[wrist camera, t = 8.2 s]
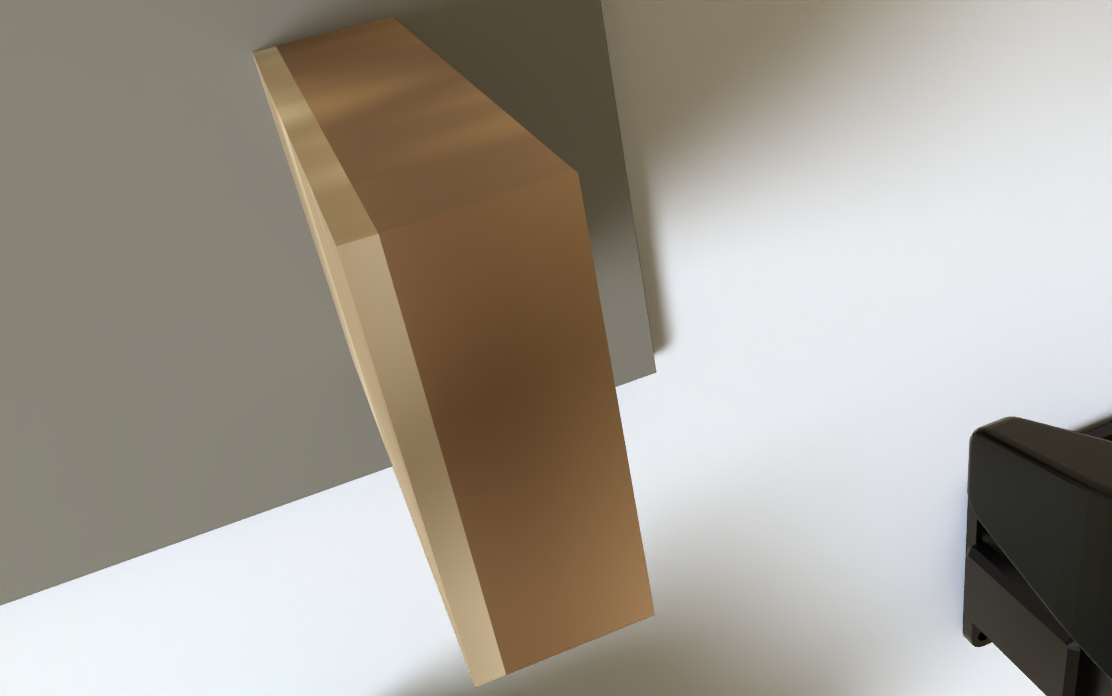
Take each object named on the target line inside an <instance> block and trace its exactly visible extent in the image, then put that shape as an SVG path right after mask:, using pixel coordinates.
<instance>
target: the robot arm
mask: <svg viewBox="0 0 1112 696" xmlns="http://www.w3.org/2000/svg"><path fill="white" fill-rule="evenodd" d="M967 492H968V509H967V534H966V559H965V584H964V610H963V636H964V637H965V638H966V639H967V640H968V641H969V642H970V643H971V644H972V645H974V646H975V647H981V646H985V645H987V644H989V643H991V642H993V643H994V644H995V645H996V646H997V647H998V648H999V649H1000V650H1001V651H1002V652H1003V653H1004V654H1005V655H1006V656H1007V657H1008V658H1009V659H1010V660H1011V661H1012V662H1013V663H1014V664H1015V665H1016V666H1017V667H1018V668H1019V669H1020V670H1021V671H1022V672H1023V673H1024V674H1025V675H1026V676H1027V677H1028V678H1029V679H1030V680H1031V681H1032V682H1033V683H1034V684H1035V685H1036V686H1037V687H1038V688H1039V689H1040V690H1041V691H1042V692H1043V693H1044V694H1045V695H1046V696H1112V422H1111V423H1109V424H1107V425H1104V426H1102V427H1099V428H1097V429H1094V430H1092V431H1089V432H1087V433H1084V434H1082V433H1078V432H1074V431H1070V430H1066V429H1062V428H1058V427H1054V426H1050V425H1046V424H1042V423H1039V422H1035V421H1031V420H1027V419H1023V418H1018V417H1005V418H1002V419H999V420H997V421H994V422H992V423H989V424H987V425H984V426H982V427H979V428H977V429H976V430H975V431H974V432H973V434H972V436H971V438H970V442H969V463H968V488H967Z"/></svg>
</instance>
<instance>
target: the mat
mask: <svg viewBox="0 0 1112 696" xmlns="http://www.w3.org/2000/svg"><path fill="white" fill-rule="evenodd" d="M391 16H392V17H393V18H394V19H395V20H397V21H398V22H399V23H400V24H401V25H403V26H404V27H405V28H406V29H407V30H409V31H410V32H411V33H412V34H413V35H414V36H416V37H417V38H418V39H419V40H420V41H422V42H423V43H424V44H425V45H426V46H428V47H429V48H430V49H431V50H432V51H433V52H435V53H436V54H437V55H438V56H439V57H441V58H442V59H443V60H444V61H445V62H447V63H448V64H449V65H450V66H451V67H452V68H454V69H455V70H456V71H457V72H458V73H460V74H461V75H462V76H463V77H464V78H466V79H467V80H468V81H469V82H470V83H472V84H473V85H474V86H475V87H476V88H477V89H479V90H480V91H481V92H482V93H483V94H485V95H486V96H487V97H488V98H489V99H491V100H492V101H493V102H494V103H495V104H496V105H498V106H499V107H500V108H501V109H502V110H504V111H505V112H506V113H507V114H508V115H510V116H511V117H512V118H513V119H514V120H515V121H517V122H518V123H519V124H520V125H521V126H523V127H524V128H525V129H526V130H527V131H529V132H530V133H531V134H532V135H533V136H534V137H536V138H537V139H538V140H539V141H540V142H542V143H543V144H544V145H545V146H546V147H548V148H549V149H550V150H551V151H552V152H553V153H555V154H556V155H557V156H558V157H559V158H561V159H562V160H563V161H564V162H565V163H567V164H568V165H569V166H570V167H571V168H572V169H574V170H575V171H576V172H577V173H578V174H579V180H580V186H581V192H582V198H583V203H584V209H585V215H586V221H587V226H588V232H589V238H590V244H591V250H592V255H593V261H594V267H595V273H596V279H597V284H598V290H599V296H600V302H601V308H602V313H603V319H604V325H605V331H606V336H607V342H608V348H609V354H610V360H611V365H612V371H613V377H614V383H615V387H617V386H619V385H622V384H625V383H628V382H631V381H633V380H636V379H639V378H642V377H645V376H648V375H650V374H653V373H656V367H655V360H654V353H653V347H652V340H651V334H650V327H649V320H648V314H647V307H646V301H645V294H644V287H643V281H642V274H641V268H640V261H639V254H638V248H637V241H636V235H635V228H634V221H633V215H632V208H631V201H630V195H629V188H628V182H627V175H626V168H625V162H624V155H623V149H622V142H621V135H620V129H619V122H618V116H617V109H616V102H615V96H614V89H613V83H612V76H611V69H610V63H609V56H608V50H607V43H606V36H605V30H604V23H603V16H602V10H601V3H600V0H0V605H3V604H6V603H9V602H12V601H14V600H17V599H20V598H23V597H26V596H29V595H31V594H34V593H37V592H40V591H43V590H45V589H48V588H51V587H54V586H57V585H59V584H62V583H65V582H68V581H71V580H74V579H76V578H79V577H82V576H85V575H88V574H90V573H93V572H96V571H99V570H102V569H104V568H107V567H110V566H113V565H116V564H119V563H121V562H124V561H127V560H130V559H133V558H135V557H138V556H141V555H144V554H147V553H149V552H152V551H155V550H158V549H161V548H164V547H166V546H169V545H172V544H175V543H178V542H180V541H183V540H186V539H189V538H192V537H195V536H197V535H200V534H203V533H206V532H209V531H211V530H214V529H217V528H220V527H223V526H225V525H228V524H231V523H234V522H237V521H240V520H242V519H245V518H248V517H251V516H254V515H256V514H259V513H262V512H265V511H268V510H270V509H273V508H276V507H279V506H282V505H285V504H287V503H290V502H293V501H296V500H299V499H301V498H304V497H307V496H310V495H313V494H316V493H318V492H321V491H324V490H327V489H330V488H332V487H335V486H338V485H341V484H344V483H346V482H349V481H352V480H355V479H358V478H361V477H363V476H366V475H369V474H372V473H375V472H377V471H380V470H383V469H386V468H389V467H391V466H392V464H391V461H390V458H389V456H388V453H387V450H386V448H385V445H384V442H383V440H382V437H381V434H380V432H379V429H378V426H377V423H376V421H375V418H374V415H373V413H372V410H371V407H370V405H369V402H368V399H367V397H366V394H365V391H364V389H363V386H362V383H361V381H360V378H359V375H358V373H357V370H356V367H355V365H354V362H353V359H352V357H351V354H350V351H349V347H348V344H347V341H346V338H345V335H344V332H343V329H342V326H341V323H340V320H339V317H338V314H337V311H336V308H335V305H334V302H333V299H332V295H331V292H330V289H329V286H328V283H327V280H326V277H325V274H324V271H323V268H322V265H321V262H320V259H319V256H318V253H317V250H316V246H315V243H314V240H313V237H312V234H311V231H310V228H309V225H308V222H307V219H306V216H305V213H304V210H303V207H302V204H301V201H300V197H299V194H298V191H297V188H296V185H295V182H294V179H293V176H292V173H291V170H290V167H289V164H288V161H287V158H286V155H285V152H284V149H283V145H282V142H281V139H280V136H279V133H278V130H277V127H276V124H275V121H274V118H273V115H272V112H271V109H270V106H269V103H268V100H267V96H266V93H265V90H264V87H263V84H262V81H261V78H260V75H259V72H258V69H257V66H256V63H255V60H254V57H253V54H252V52H256V51H259V50H263V49H267V48H271V47H275V46H279V45H283V44H287V43H290V42H294V41H298V40H302V39H306V38H310V37H314V36H318V35H322V34H325V33H329V32H333V31H337V30H341V29H345V28H349V27H353V26H357V25H360V24H364V23H368V22H372V21H376V20H380V19H384V18H388V17H391Z"/></svg>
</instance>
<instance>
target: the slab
mask: <svg viewBox="0 0 1112 696" xmlns="http://www.w3.org/2000/svg"><path fill="white" fill-rule="evenodd" d="M252 54H253V57H254V60H255V63H256V66H257V69H258V72H259V75H260V78H261V81H262V84H263V87H264V90H265V93H266V96H267V100H268V103H269V106H270V109H271V112H272V115H273V118H274V121H275V124H276V127H277V130H278V133H279V136H280V139H281V142H282V145H283V149H284V152H285V155H286V158H287V161H288V164H289V167H290V170H291V173H292V176H293V179H294V182H295V185H296V188H297V191H298V194H299V197H300V201H301V204H302V207H303V210H304V213H305V216H306V219H307V222H308V225H309V228H310V231H311V234H312V237H313V240H314V243H315V246H316V250H317V253H318V256H319V259H320V262H321V265H322V268H323V271H324V274H325V277H326V280H327V283H328V286H329V289H330V292H331V295H332V299H333V302H334V305H335V308H336V311H337V314H338V317H339V320H340V323H341V326H342V329H343V332H344V335H345V338H346V341H347V344H348V347H349V351H350V354H351V357H352V359H353V362H354V365H355V367H356V370H357V373H358V375H359V378H360V381H361V383H362V386H363V389H364V391H365V394H366V397H367V399H368V402H369V405H370V407H371V410H372V413H373V415H374V418H375V421H376V423H377V426H378V429H379V432H380V434H381V437H382V440H383V442H384V445H385V448H386V450H387V453H388V456H389V458H390V461H391V464H392V466H393V469H394V472H395V474H396V477H397V480H398V482H399V485H400V488H401V490H402V493H403V496H404V498H405V501H406V504H407V506H408V509H409V512H410V514H411V517H412V520H413V522H414V525H415V528H416V530H417V533H418V536H419V538H420V541H421V544H422V546H423V549H424V552H425V554H426V557H427V560H428V562H429V565H430V568H431V570H432V573H433V576H434V578H435V581H436V584H437V586H438V589H439V592H440V594H441V597H442V600H443V602H444V605H445V608H446V610H447V613H448V616H449V618H450V621H451V624H452V626H453V629H454V632H455V634H456V637H457V640H458V642H459V645H460V648H461V651H462V653H463V656H464V659H465V661H466V664H467V667H468V669H469V672H470V675H471V677H472V680H473V683H474V685H475V687H478V686H480V685H483V684H485V683H488V682H490V681H493V680H495V679H498V678H500V677H503V676H505V675H508V674H510V673H513V672H515V671H517V670H520V669H522V668H525V667H527V666H530V665H532V664H535V663H537V662H540V661H542V660H545V659H547V658H550V657H552V656H554V655H557V654H559V653H562V652H564V651H567V650H569V649H572V648H574V647H577V646H579V645H582V644H584V643H587V642H589V641H592V640H594V639H596V638H599V637H601V636H604V635H606V634H609V633H611V632H614V631H616V630H619V629H621V628H624V627H626V626H629V625H631V624H634V623H636V622H638V621H641V620H643V619H646V618H648V617H651V616H653V615H655V614H654V609H653V603H652V597H651V591H650V585H649V580H648V574H647V568H646V562H645V556H644V551H643V545H642V539H641V533H640V528H639V522H638V516H637V510H636V504H635V499H634V493H633V487H632V481H631V475H630V470H629V464H628V458H627V452H626V446H625V441H624V435H623V429H622V423H621V418H620V412H619V406H618V400H617V394H616V389H615V383H614V377H613V371H612V365H611V360H610V354H609V348H608V342H607V336H606V331H605V325H604V319H603V313H602V308H601V302H600V296H599V290H598V284H597V279H596V273H595V267H594V261H593V255H592V250H591V244H590V238H589V232H588V226H587V221H586V215H585V209H584V203H583V198H582V192H581V186H580V180H579V174H578V173H577V172H576V171H575V170H574V169H572V168H571V167H570V166H569V165H568V164H567V163H565V162H564V161H563V160H562V159H561V158H559V157H558V156H557V155H556V154H555V153H553V152H552V151H551V150H550V149H549V148H548V147H546V146H545V145H544V144H543V143H542V142H540V141H539V140H538V139H537V138H536V137H534V136H533V135H532V134H531V133H530V132H529V131H527V130H526V129H525V128H524V127H523V126H521V125H520V124H519V123H518V122H517V121H515V120H514V119H513V118H512V117H511V116H510V115H508V114H507V113H506V112H505V111H504V110H502V109H501V108H500V107H499V106H498V105H496V104H495V103H494V102H493V101H492V100H491V99H489V98H488V97H487V96H486V95H485V94H483V93H482V92H481V91H480V90H479V89H477V88H476V87H475V86H474V85H473V84H472V83H470V82H469V81H468V80H467V79H466V78H464V77H463V76H462V75H461V74H460V73H458V72H457V71H456V70H455V69H454V68H452V67H451V66H450V65H449V64H448V63H447V62H445V61H444V60H443V59H442V58H441V57H439V56H438V55H437V54H436V53H435V52H433V51H432V50H431V49H430V48H429V47H428V46H426V45H425V44H424V43H423V42H422V41H420V40H419V39H418V38H417V37H416V36H414V35H413V34H412V33H411V32H410V31H409V30H407V29H406V28H405V27H404V26H403V25H401V24H400V23H399V22H398V21H397V20H395V19H394V18H393V17H392V16H391V17H388V18H384V19H380V20H376V21H372V22H368V23H364V24H360V25H357V26H353V27H349V28H345V29H341V30H337V31H333V32H329V33H325V34H322V35H318V36H314V37H310V38H306V39H302V40H298V41H294V42H290V43H287V44H283V45H279V46H275V47H271V48H267V49H263V50H259V51H256V52H252Z"/></svg>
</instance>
